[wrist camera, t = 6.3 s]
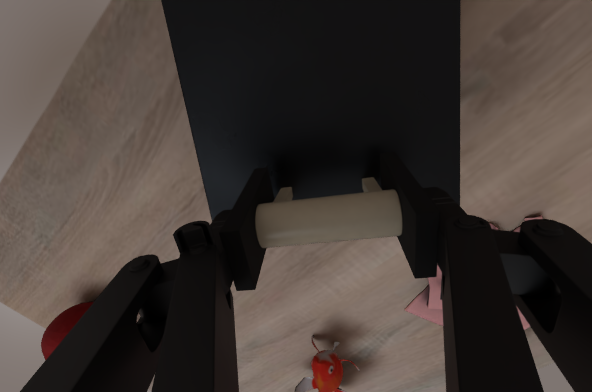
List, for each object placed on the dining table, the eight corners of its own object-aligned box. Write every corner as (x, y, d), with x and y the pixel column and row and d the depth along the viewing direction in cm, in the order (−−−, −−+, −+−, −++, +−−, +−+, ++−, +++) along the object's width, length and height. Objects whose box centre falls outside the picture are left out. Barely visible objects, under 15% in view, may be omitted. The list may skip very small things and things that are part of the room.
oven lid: (455, 208, 19) (530, 267, 12) (219, 232, 21) (165, 293, 14) (454, -162, 14) (581, -431, 7) (147, -85, 16) (10, -234, 9)
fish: (390, 353, 40) (369, 441, 34) (370, 373, 52) (353, 440, 46) (315, 319, 43) (285, 395, 37) (313, 345, 55) (290, 405, 49)
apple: (125, 340, 50) (83, 403, 41) (71, 322, 49) (15, 383, 40) (134, 303, 46) (89, 364, 37) (75, 282, 45) (14, 340, 36)
